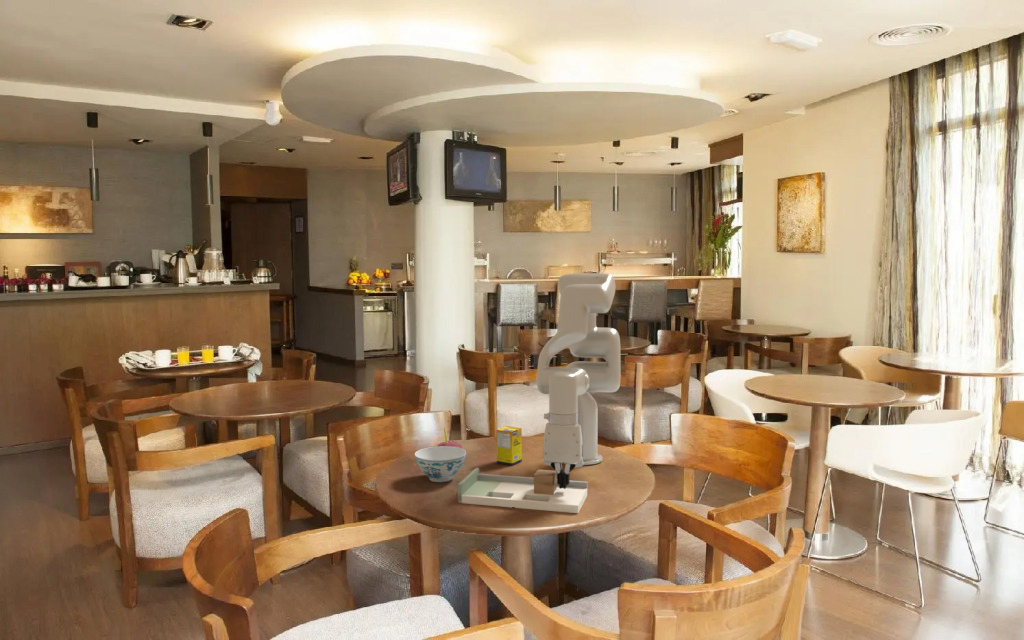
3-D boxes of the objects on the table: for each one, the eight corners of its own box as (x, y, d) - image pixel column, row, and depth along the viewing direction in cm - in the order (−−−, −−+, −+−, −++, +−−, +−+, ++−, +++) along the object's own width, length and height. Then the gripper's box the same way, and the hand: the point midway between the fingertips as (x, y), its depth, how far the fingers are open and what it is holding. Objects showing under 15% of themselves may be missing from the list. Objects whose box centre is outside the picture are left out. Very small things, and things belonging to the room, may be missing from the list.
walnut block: (538, 487, 191) (538, 469, 191) (556, 488, 190) (556, 470, 189) (534, 493, 186) (533, 474, 186) (552, 494, 185) (552, 476, 184)
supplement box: (522, 461, 223) (522, 427, 222) (512, 466, 218) (511, 431, 217) (506, 458, 226) (506, 425, 226) (496, 463, 221) (495, 429, 220)
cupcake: (451, 469, 215) (451, 430, 214) (430, 465, 220) (429, 427, 219) (468, 462, 223) (467, 425, 222) (446, 458, 227) (446, 422, 226)
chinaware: (477, 477, 206) (476, 452, 206) (438, 490, 196) (437, 463, 195) (443, 468, 217) (442, 443, 216) (404, 479, 206) (404, 453, 205)
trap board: (476, 485, 200) (475, 468, 199) (587, 494, 191) (587, 476, 191) (458, 502, 185) (457, 484, 185) (578, 513, 177) (578, 493, 176)
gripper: (532, 420, 184) (532, 489, 185) (589, 423, 180) (589, 493, 181) (538, 414, 191) (538, 481, 192) (593, 417, 187) (593, 485, 188)
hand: (563, 487), depth 187 cm, fingers closed
